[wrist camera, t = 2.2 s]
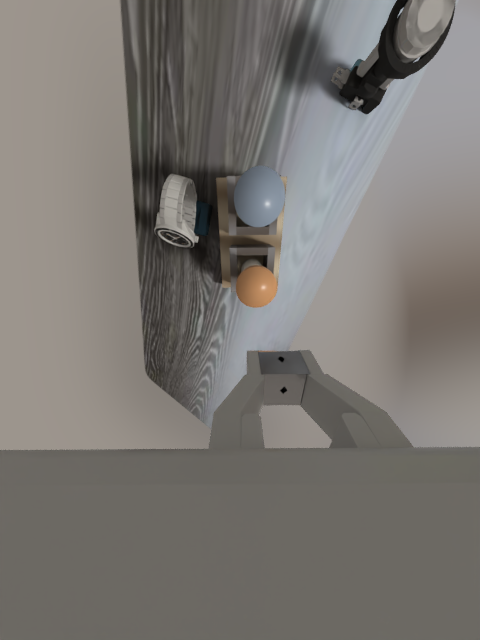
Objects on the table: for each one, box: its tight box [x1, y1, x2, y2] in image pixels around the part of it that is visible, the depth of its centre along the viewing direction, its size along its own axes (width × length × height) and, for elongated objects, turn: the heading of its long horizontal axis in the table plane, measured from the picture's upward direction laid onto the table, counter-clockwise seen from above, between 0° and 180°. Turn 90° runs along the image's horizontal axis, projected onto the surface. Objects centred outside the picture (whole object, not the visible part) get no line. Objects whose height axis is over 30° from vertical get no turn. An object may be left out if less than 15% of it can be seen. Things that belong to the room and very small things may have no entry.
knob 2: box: [236, 259, 277, 307], centre depth 23 cm, size 4×4×9 cm
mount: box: [216, 175, 287, 292], centre depth 28 cm, size 16×10×7 cm, turn 1°
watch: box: [154, 174, 212, 248], centre depth 25 cm, size 6×8×11 cm
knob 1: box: [234, 166, 285, 227], centre depth 20 cm, size 4×4×9 cm
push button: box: [331, 0, 456, 114], centre depth 19 cm, size 7×5×10 cm
